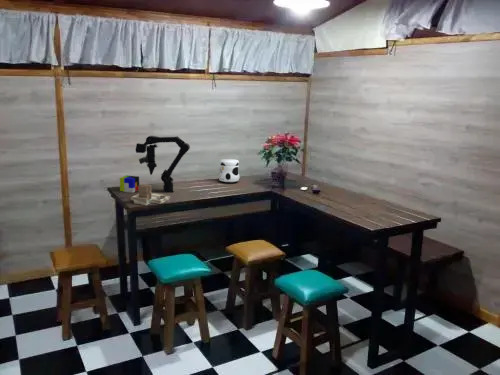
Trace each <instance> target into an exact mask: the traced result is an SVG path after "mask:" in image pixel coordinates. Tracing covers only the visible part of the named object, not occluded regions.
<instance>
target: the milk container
mask: <svg viewBox="0 0 500 375" xmlns="http://www.w3.org/2000/svg"><path fill="white" fill-rule="evenodd" d="M239 165H240V161H239V160H238V159H235V158H224V159H223V158H221V159H220V160H219V172H218V181H219V182H221V183H226V184H227V183H228V184H234V183H237V182H239V181H240V177H241V176H240V172H239V169H240V166H239Z"/></svg>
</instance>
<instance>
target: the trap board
mask: <svg viewBox="0 0 500 375" xmlns="http://www.w3.org/2000/svg"><path fill="white" fill-rule="evenodd" d="M170 199H171V196H170V195H165V194H164V193H157V192H151V199H149V200H147V198H139V193H137V194H135V195H133V196H130V201H133V204H135V205H142V206H143V205H144V206H147V205H149V204H152V203H153V204H159V205H160V204H163V203H164V202H167V201H169V200H170Z"/></svg>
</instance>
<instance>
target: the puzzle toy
mask: <svg viewBox="0 0 500 375" xmlns="http://www.w3.org/2000/svg"><path fill="white" fill-rule="evenodd" d="M138 186H140V176H137V175H124V176H122V177H119V192H120V191H123V193H133V194H134V193H135V191H136V192H137V191H138V192H139V189H138Z"/></svg>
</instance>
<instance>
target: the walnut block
mask: <svg viewBox="0 0 500 375" xmlns="http://www.w3.org/2000/svg"><path fill="white" fill-rule="evenodd" d="M138 189H139V190H138V194H139V198H147V200H149V199H151V193H152V185H151V184H141V185H140V184H139V186H138Z"/></svg>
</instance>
